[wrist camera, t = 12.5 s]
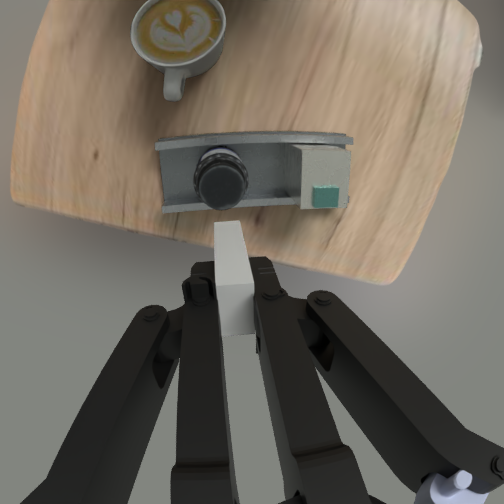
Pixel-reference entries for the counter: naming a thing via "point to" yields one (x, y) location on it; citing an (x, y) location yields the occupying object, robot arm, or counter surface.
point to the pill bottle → (220, 178)
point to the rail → (262, 168)
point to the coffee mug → (179, 39)
